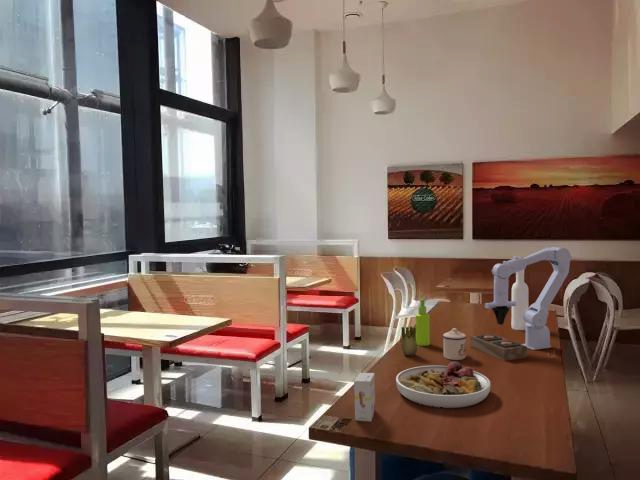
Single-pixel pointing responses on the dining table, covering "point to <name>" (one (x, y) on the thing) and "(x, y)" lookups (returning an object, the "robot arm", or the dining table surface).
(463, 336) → the teacup with lid
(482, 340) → the walnut block
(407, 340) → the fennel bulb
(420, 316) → the soap dispenser
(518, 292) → the bottle
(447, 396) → the bowl
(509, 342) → the peg
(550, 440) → the dining table surface
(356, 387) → the ink box
